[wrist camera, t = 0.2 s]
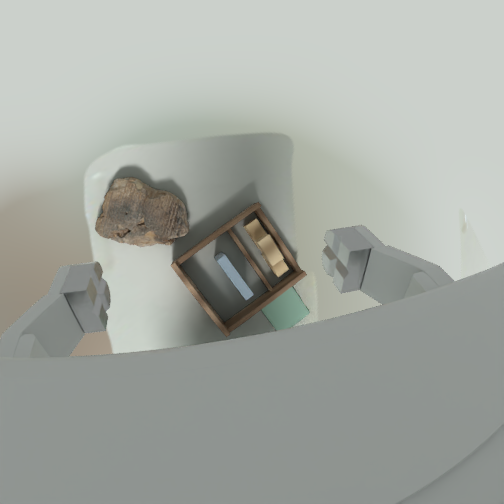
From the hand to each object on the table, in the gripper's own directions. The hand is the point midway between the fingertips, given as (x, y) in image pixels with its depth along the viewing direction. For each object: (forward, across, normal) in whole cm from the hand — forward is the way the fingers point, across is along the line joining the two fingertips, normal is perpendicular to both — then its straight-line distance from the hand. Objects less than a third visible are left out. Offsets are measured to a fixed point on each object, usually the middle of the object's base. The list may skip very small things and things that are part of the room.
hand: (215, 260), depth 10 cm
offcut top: (+43, +15, -30) cm, 54 cm away
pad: (+38, +18, -44) cm, 60 cm away
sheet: (+43, +6, -34) cm, 55 cm away
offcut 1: (+47, +13, -28) cm, 56 cm away
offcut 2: (+44, +16, -34) cm, 57 cm away
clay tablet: (+50, -11, -22) cm, 55 cm away
